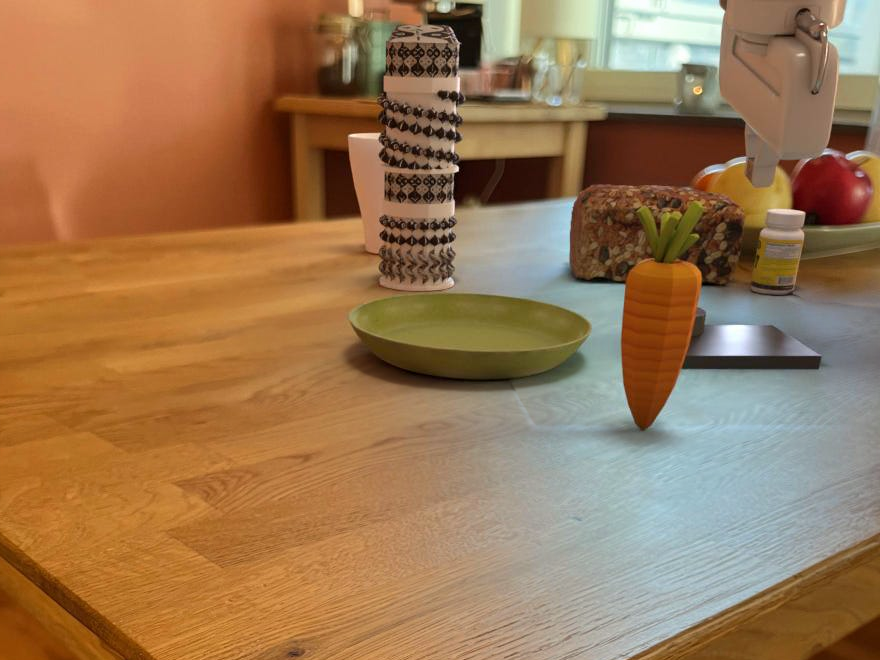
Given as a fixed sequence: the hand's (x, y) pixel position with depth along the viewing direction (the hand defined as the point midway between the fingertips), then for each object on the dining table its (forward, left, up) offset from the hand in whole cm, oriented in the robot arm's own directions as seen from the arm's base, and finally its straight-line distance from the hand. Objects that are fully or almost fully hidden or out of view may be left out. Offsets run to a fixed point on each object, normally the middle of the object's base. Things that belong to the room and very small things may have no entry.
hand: (757, 182), depth 89 cm
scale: (+3, +5, -13) cm, 15 cm away
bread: (0, -30, -14) cm, 33 cm away
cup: (+30, -46, -14) cm, 56 cm away
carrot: (+16, +26, -14) cm, 34 cm away
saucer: (+26, +6, -14) cm, 30 cm away
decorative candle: (+28, -25, -14) cm, 39 cm away
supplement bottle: (-12, -22, -14) cm, 28 cm away
